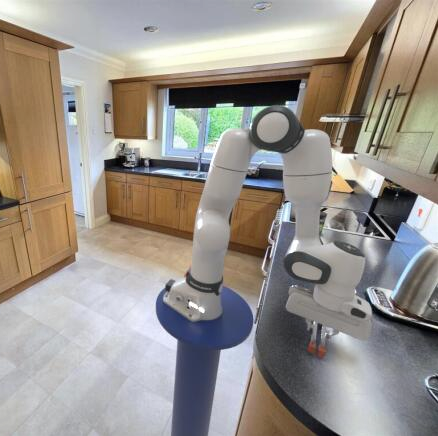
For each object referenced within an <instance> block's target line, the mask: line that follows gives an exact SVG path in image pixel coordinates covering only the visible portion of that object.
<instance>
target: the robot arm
mask: <svg viewBox="0 0 438 436" xmlns="http://www.w3.org/2000/svg"><path fill="white" fill-rule="evenodd" d="M332 150H333V149H332V144H331V139H330V136H329V134H328V133H327V132H325V131H323V130H321V129H315V128H314V129H305V127H304V126H303V124H302V123H301V122H300V119H298V116H297V115H296V113H294V111H293V110H292V109H291V108H289V107H287V106H284V105H280V104H275V105H270V106H267V107H264V108H262V109H261V110H260V111H259V112H257V113H256V114H255V115H254V116H253V118H252V120H251V122H250V125H249V126H248V127H246V128H240V127H239V128H238V127H237V128H230V129H227V130H225V131H224V132H222V134H221V135H220V138H219V139H218V142H217V144H216V146H215V149H214V151H213V154H212V158H211V160H210V163H209V168H208V171H207V175H206V178H205V182H204V187H203V190H202V193H201V197H200V200H199V203H198V207H197V210H196V214H195V219H194V225H193V237H192V239H193V240H192V253H191V254H192V255H191V263H190V264H191V265H190V266H189V267H188V268H189V269H187V270H186V272H185V273H184V275H183V276H181V277H180V278H178V279H176V280H175V279H172V278H170V279H169V280H168V281H167V282H166V283H165V286H164V288H165V290H166V291H167V292H166V293H165V295H164V297H163V302H164V303H166V304H167V305H168V306H170V307H171V308H173V309H174V310H176V311H177V312H179V313H180V314H182V315H183V316H184V317H186V318H187V319H189V320H190V321H192V322H196V321H200V320H213V319H216V318H218V317H219V316H220V315H221V314H222V305H221V291H222V287H223V286H224V276H223V274H224V266H225V259H226V255H227V251H228V248H229V244H230V238H231V233H232V232H231V226H230V225H231V224H230V216H231V213H232V211H233V209H234V207H235V205H236V202H237V201H238V199H239V197H240V195H241V192H242V189H243V186H244V183H245V180H246V177H247V174H248V171H249V167H250V164H251V162H252V159H253V157H254V156H255V154H256V153H257V152H258V151H266V152H273V153H278V154H280V156H281V158H282V164H283V165H282V185H283V193H284V197H285V199H286V201H288V202H289V203H290V204H292V207H293V208H294V212H295V213H294V214H295V233H294V236H293V238H292V239H291V241H290V243H289V246H288V248H287V251H286V253H285V256H284V258H283V260H282V265H283V269H284V271H285V272H286V274H287V275H288V276H290V277H291V278H293V280H297V281H300V282H304V283H308V284H315V285H314V288H313V289H310V288H308V287H304V286H302V285H298V284H296V285H291V286H289V288H288V295H289V296H288V299H287V301H286V304H285V310H286V311H287V312H289V313H291V314H294V315H296V316H299V317H301V318H304V319H305V323H306V325H307V329H306V330H307V331H308V332H310V333H312V332H313V330H314V325H313V324H312V322H313V321H314V322H317V323H319V324H322V325H324V326H326V328H330V329H331V330H327V329H326V333H325V339H327V340H330V341H331V340H332V338H333V337H334V336H338V335H339V334H340V333H342V334H345V335H348V336H350V337H353V338H355V339H357V340H360V341H362V342H365V341H368V340H369V339H370V336H371V333H372V328H373V326H372V325H373V324H372V317H373V309H372V306H371V304H370V303H369V301H367V300H366V299H363V298H362V297H361V296H358V295H356V294H355V290H356V288H357V286H358V285H359V284H360V282H361V281H362V277H363V274H364V272H365V268H366V256H365V254H364V252H363V251H362V250H361V249H360V248H358V247H356V246H355V245H353V244H351V243H348V242H344V241H339V240H335V241H332V242H329V243H324V242H323V240H322V238H321V236H320V235H319V222H320V211H322V210H321V209H322V206H323V204H324V203H325V201H326V200H327V199H328V195H329V193H330V189H331V184H332V179H333V151H332Z"/></svg>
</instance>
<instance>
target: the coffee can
mask: <svg viewBox="0 0 438 436" xmlns="http://www.w3.org/2000/svg"><path fill="white" fill-rule="evenodd" d="M327 216H328V213H327V212H325V211H322V210H320V222H319V235H320V237H321V236H322V234H323V231H324V227H325V224H326V221H327V220H326V219H327Z"/></svg>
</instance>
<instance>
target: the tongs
mask: <svg viewBox="0 0 438 436" xmlns="http://www.w3.org/2000/svg"><path fill="white" fill-rule="evenodd" d="M311 324H313V325H314V330H313V332H310V333H311V334H310V341H309V344H308V346H307V347H308V348H307V352H308V353H311V354H312V355H314V354H315V351H316V347H317V343H316V340H317V332H318V329H319V330H320V331H319V341H318V349H317V352H316V357H318V358H321V359H324V356H325V354H326V346H325V345H326V338H325V333H326V330H327V326H324V325H322V324H319V323H317V322H314V321H312V322H311Z"/></svg>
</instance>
